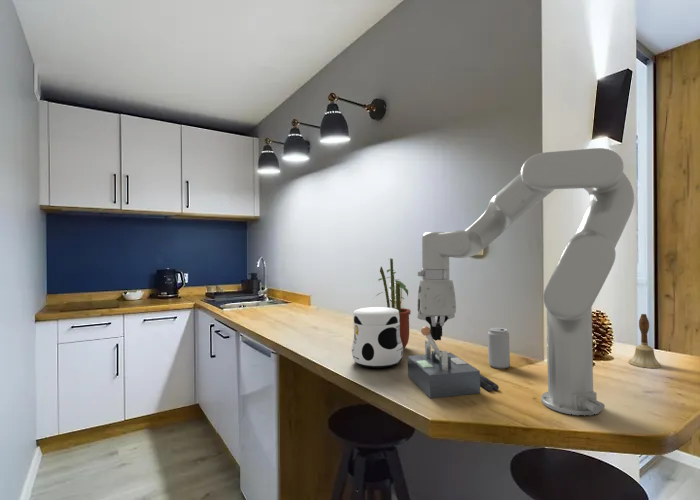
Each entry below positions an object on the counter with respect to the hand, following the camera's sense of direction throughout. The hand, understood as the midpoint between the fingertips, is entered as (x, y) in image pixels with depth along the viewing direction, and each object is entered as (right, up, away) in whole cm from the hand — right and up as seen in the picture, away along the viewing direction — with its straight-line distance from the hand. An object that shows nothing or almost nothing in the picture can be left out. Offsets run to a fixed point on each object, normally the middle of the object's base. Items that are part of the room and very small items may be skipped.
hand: (436, 339), depth 110 cm
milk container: (-15, -13, +20) cm, 28 cm away
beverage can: (+23, -12, +14) cm, 30 cm away
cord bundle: (+13, -12, +2) cm, 18 cm away
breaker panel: (+1, -13, 0) cm, 13 cm away
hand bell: (+68, -11, +11) cm, 70 cm away
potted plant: (-9, -13, +40) cm, 42 cm away
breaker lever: (+1, -5, 0) cm, 5 cm away
